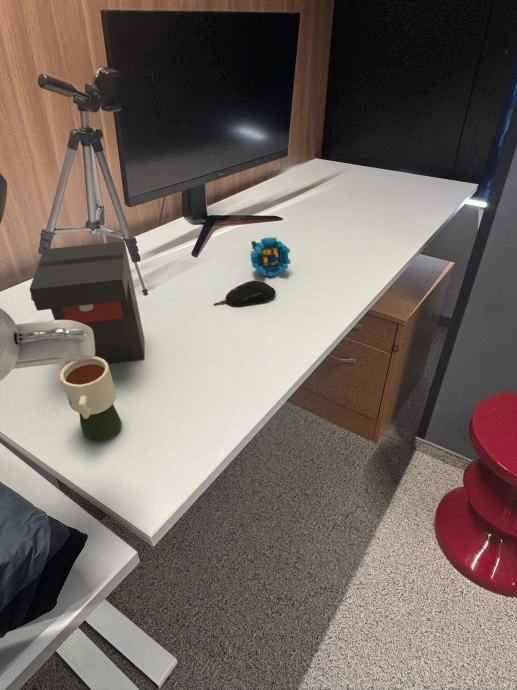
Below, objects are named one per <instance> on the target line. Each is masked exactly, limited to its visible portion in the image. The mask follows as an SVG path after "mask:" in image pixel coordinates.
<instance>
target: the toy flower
mask: <svg viewBox="0 0 517 690" xmlns="http://www.w3.org/2000/svg"><path fill="white" fill-rule="evenodd" d="M250 243H251V248H252V251H251V250H250V262H251V267H253V268H254V269H255V270H256V271H257V272H258V273H260V274H261V275H262V276H264V277H276V276H277V275H279V273H284V272H285V270H288V269H289V265H291V259H289V254H291V250H290V248H289V247H288V246H287V245H285V244H284V243H283V242H282V240H281V241H280V240H277V237H275V236H274V237H271V236H270V237H263V238H260V241H259V242H257V241H255V240H252V241H250Z"/></svg>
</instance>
